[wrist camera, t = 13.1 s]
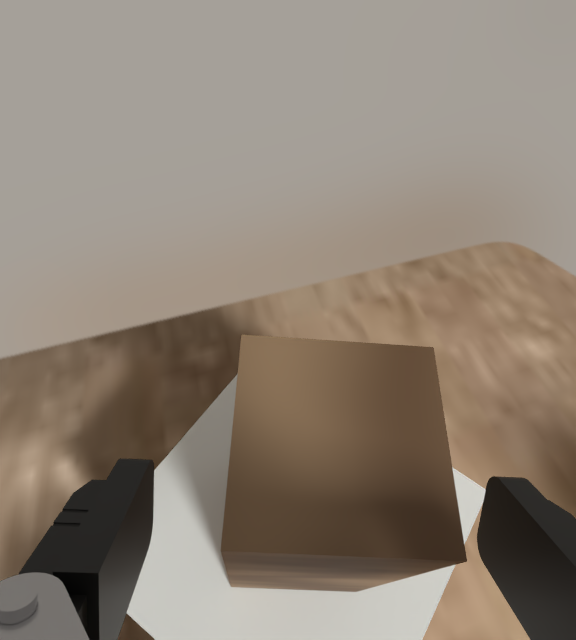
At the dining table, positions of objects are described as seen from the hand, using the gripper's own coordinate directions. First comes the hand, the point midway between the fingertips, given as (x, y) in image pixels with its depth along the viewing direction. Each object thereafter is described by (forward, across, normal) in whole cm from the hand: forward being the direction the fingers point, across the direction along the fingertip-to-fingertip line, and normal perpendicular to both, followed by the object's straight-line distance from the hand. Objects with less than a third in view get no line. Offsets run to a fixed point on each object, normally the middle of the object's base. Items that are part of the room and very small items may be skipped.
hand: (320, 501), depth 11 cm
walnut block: (+6, 0, +5) cm, 8 cm away
